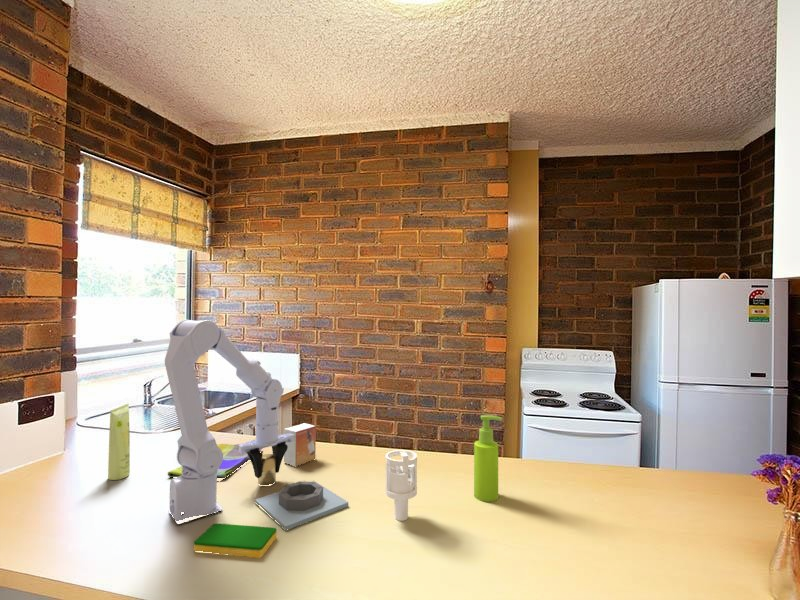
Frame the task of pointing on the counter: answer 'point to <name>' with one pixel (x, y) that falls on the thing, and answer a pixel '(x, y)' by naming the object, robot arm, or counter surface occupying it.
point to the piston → (268, 469)
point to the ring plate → (301, 515)
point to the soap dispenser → (486, 462)
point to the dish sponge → (236, 540)
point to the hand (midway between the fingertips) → (267, 474)
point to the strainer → (401, 481)
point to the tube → (119, 443)
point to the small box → (301, 444)
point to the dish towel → (229, 463)
